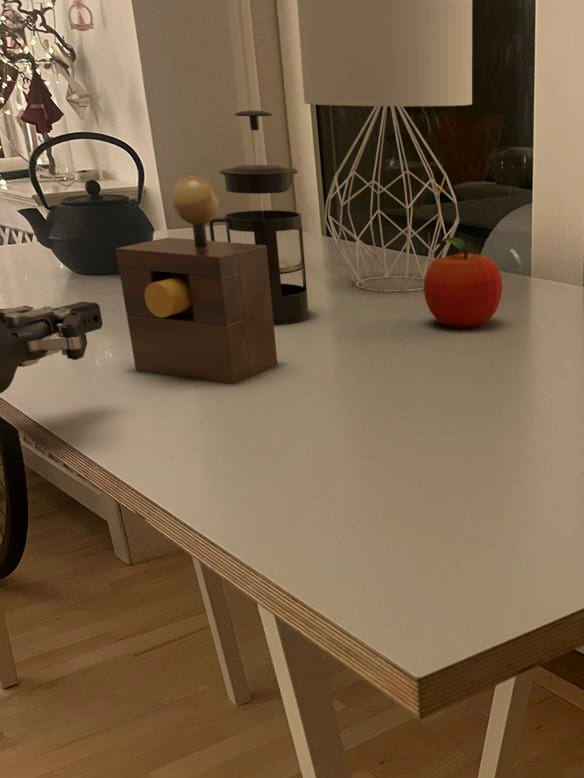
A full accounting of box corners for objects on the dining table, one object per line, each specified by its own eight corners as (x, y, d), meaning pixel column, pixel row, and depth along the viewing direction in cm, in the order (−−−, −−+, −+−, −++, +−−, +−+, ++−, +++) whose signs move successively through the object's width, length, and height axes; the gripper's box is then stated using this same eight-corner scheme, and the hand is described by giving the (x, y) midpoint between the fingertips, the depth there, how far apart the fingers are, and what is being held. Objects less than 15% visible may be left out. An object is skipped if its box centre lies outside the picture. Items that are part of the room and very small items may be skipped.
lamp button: (174, 319, 94) (169, 284, 93) (147, 316, 95) (141, 281, 94) (193, 313, 97) (189, 278, 95) (166, 310, 98) (162, 276, 96)
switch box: (233, 385, 98) (210, 184, 89) (135, 372, 102) (103, 178, 93) (277, 366, 104) (260, 176, 95) (184, 354, 108) (158, 171, 99)
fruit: (475, 337, 116) (475, 246, 111) (409, 326, 121) (407, 239, 116) (516, 322, 123) (519, 236, 118) (453, 313, 128) (453, 230, 123)
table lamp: (325, 270, 153) (304, -41, 133) (469, 270, 154) (469, -39, 134) (309, 299, 134) (282, -60, 114) (474, 299, 135) (475, -57, 115)
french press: (309, 307, 130) (294, 109, 118) (321, 323, 122) (306, 112, 110) (217, 312, 126) (193, 109, 115) (224, 329, 119) (198, 112, 107)
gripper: (-14, 315, 69) (148, 275, 83) (-149, 299, 73) (27, 263, 87) (10, 420, 73) (162, 364, 87) (-119, 399, 77) (45, 349, 91)
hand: (94, 314), depth 87 cm, fingers closed
